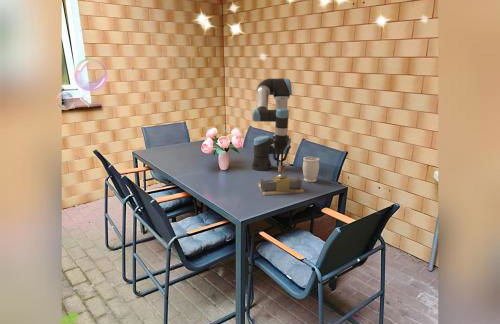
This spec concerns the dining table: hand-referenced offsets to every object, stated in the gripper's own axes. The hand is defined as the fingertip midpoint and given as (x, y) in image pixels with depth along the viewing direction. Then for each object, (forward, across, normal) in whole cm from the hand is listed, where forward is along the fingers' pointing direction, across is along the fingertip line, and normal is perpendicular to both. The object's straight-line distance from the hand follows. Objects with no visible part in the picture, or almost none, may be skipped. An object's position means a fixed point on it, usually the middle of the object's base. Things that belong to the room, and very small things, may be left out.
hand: (279, 170), depth 221 cm
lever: (+1, +2, -2) cm, 3 cm away
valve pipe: (+10, +1, -10) cm, 14 cm away
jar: (+9, +21, +10) cm, 25 cm away
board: (+10, +1, -6) cm, 11 cm away
